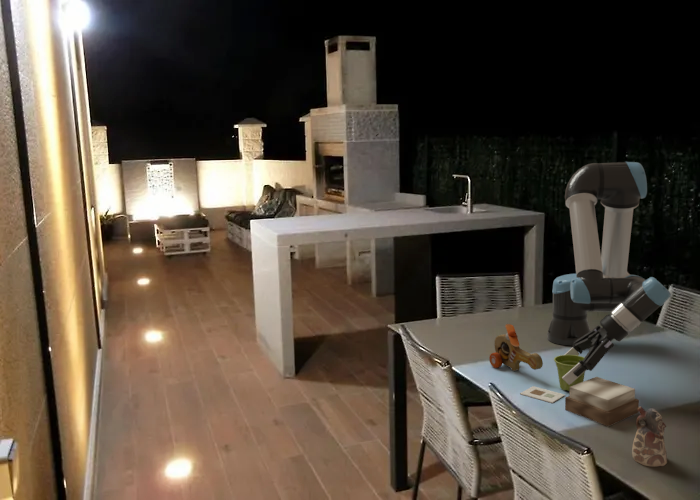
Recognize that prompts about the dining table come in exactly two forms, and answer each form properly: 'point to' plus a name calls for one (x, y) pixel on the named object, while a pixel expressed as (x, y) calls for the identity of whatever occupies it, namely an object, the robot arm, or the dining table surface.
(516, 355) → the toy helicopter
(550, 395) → the page
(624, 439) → the dining table surface
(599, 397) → the stacked square slabs
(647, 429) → the figurine
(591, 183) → the robot arm
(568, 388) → the plant pot
